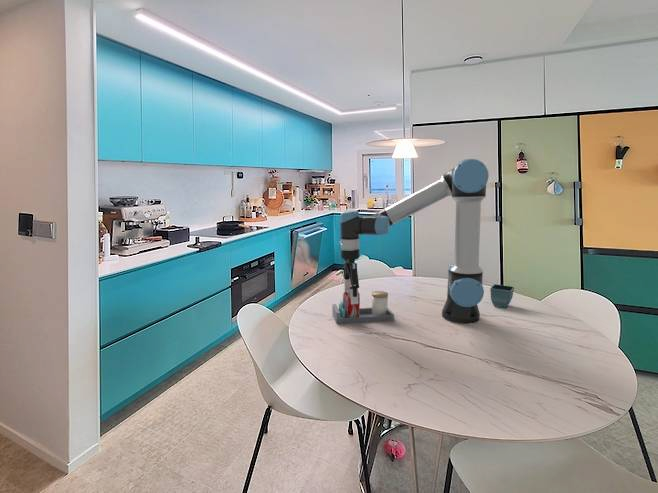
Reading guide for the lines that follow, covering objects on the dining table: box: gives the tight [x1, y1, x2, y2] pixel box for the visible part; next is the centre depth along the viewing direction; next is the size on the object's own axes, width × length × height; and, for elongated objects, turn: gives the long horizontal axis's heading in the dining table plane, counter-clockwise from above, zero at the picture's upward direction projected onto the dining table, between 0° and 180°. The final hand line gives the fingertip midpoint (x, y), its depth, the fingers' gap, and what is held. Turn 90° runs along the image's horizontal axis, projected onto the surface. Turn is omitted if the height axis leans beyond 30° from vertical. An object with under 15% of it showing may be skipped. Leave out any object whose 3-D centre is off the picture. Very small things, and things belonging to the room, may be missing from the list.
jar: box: [371, 290, 389, 316], centre depth 156 cm, size 7×7×10 cm
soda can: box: [342, 288, 361, 317], centre depth 154 cm, size 7×7×12 cm
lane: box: [331, 303, 395, 325], centre depth 155 cm, size 24×11×5 cm, turn 98°
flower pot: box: [489, 283, 515, 309], centre depth 169 cm, size 9×9×9 cm
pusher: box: [338, 300, 345, 318], centre depth 154 cm, size 1×8×7 cm, turn 8°
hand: (351, 298), depth 153 cm, fingers open, 13 cm apart
